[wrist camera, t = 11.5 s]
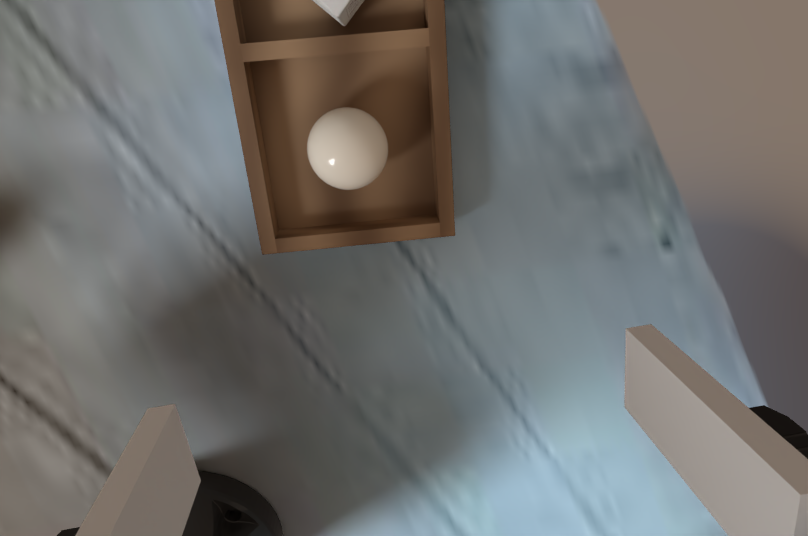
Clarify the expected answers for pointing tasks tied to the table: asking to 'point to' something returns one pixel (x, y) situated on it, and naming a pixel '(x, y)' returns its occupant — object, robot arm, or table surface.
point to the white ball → (347, 148)
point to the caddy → (335, 88)
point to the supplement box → (340, 9)
